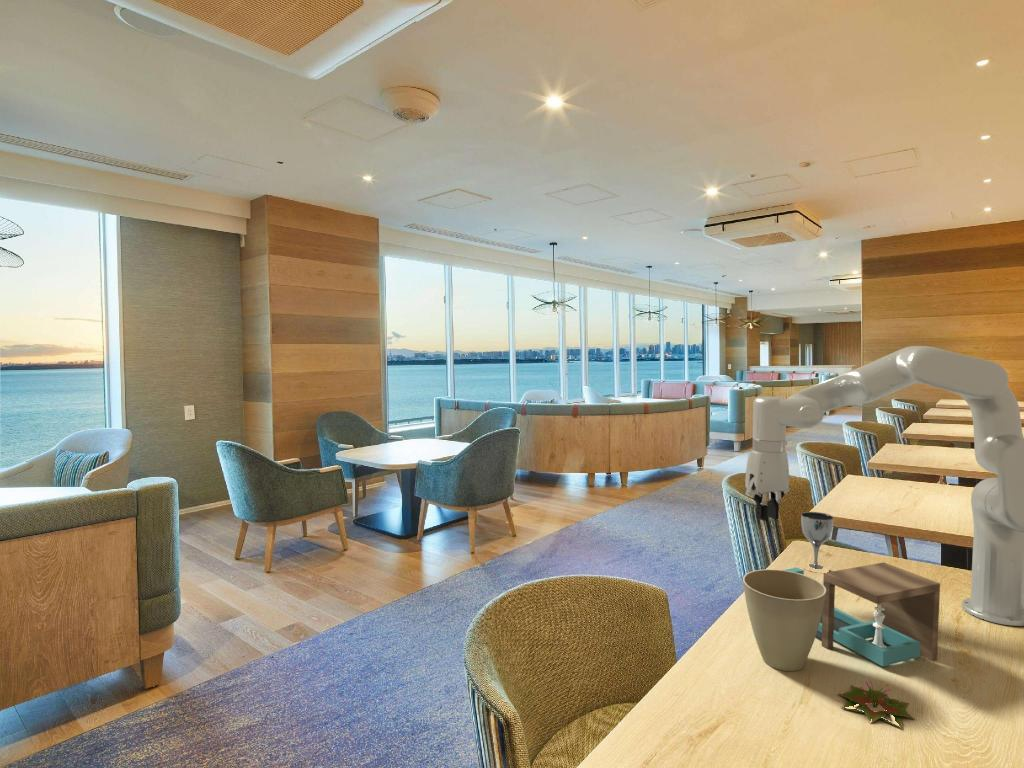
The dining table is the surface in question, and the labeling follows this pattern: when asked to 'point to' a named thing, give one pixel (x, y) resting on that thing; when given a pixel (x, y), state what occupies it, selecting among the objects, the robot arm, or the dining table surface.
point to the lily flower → (877, 697)
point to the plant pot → (784, 615)
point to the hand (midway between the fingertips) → (767, 518)
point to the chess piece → (879, 626)
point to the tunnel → (887, 602)
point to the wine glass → (816, 531)
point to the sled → (861, 631)
